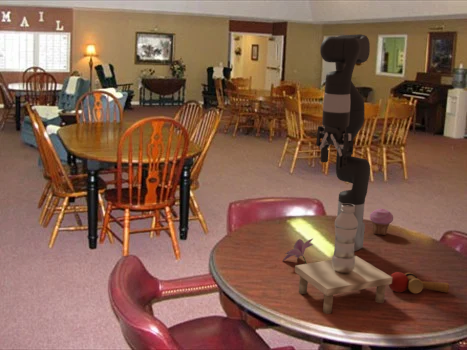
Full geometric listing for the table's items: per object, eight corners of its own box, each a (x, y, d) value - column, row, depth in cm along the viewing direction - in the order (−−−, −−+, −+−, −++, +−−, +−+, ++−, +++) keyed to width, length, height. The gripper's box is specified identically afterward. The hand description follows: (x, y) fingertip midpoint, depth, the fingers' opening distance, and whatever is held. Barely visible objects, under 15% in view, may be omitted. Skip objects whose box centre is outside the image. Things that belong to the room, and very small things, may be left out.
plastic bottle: (354, 277, 161) (360, 209, 156) (330, 274, 162) (335, 207, 157) (354, 268, 167) (360, 203, 162) (331, 265, 168) (336, 201, 163)
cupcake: (367, 235, 219) (369, 210, 216) (369, 228, 227) (371, 204, 224) (391, 238, 216) (393, 213, 214) (391, 231, 224) (394, 207, 222)
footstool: (354, 279, 178) (356, 255, 176) (389, 302, 163) (392, 277, 161) (293, 290, 169) (295, 265, 167) (325, 316, 154) (327, 289, 152)
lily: (317, 261, 195) (307, 234, 196) (326, 260, 183) (315, 232, 184) (285, 273, 193) (275, 246, 194) (292, 273, 182) (282, 245, 183)
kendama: (438, 289, 177) (383, 281, 175) (445, 272, 174) (388, 264, 173) (447, 304, 170) (389, 296, 168) (454, 287, 167) (395, 278, 166)
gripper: (363, 112, 155) (358, 169, 159) (332, 105, 167) (328, 158, 172) (340, 113, 152) (337, 172, 156) (311, 106, 164) (308, 161, 168)
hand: (332, 165), depth 164 cm, fingers open, 8 cm apart
